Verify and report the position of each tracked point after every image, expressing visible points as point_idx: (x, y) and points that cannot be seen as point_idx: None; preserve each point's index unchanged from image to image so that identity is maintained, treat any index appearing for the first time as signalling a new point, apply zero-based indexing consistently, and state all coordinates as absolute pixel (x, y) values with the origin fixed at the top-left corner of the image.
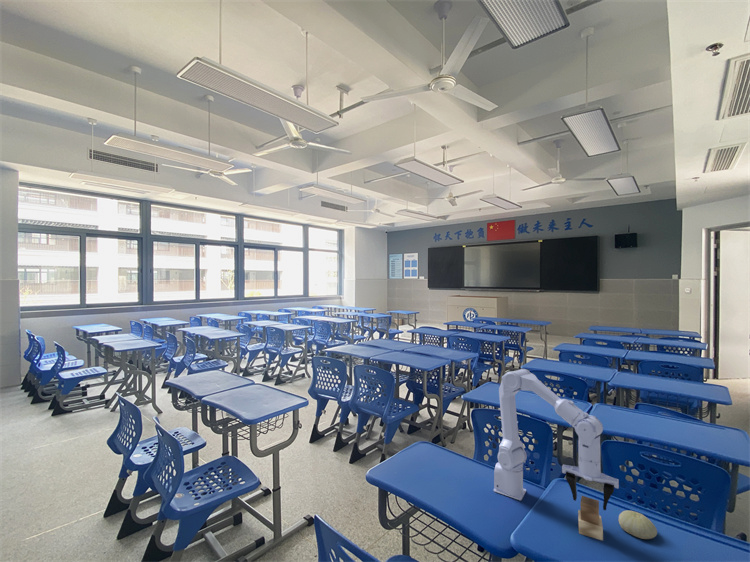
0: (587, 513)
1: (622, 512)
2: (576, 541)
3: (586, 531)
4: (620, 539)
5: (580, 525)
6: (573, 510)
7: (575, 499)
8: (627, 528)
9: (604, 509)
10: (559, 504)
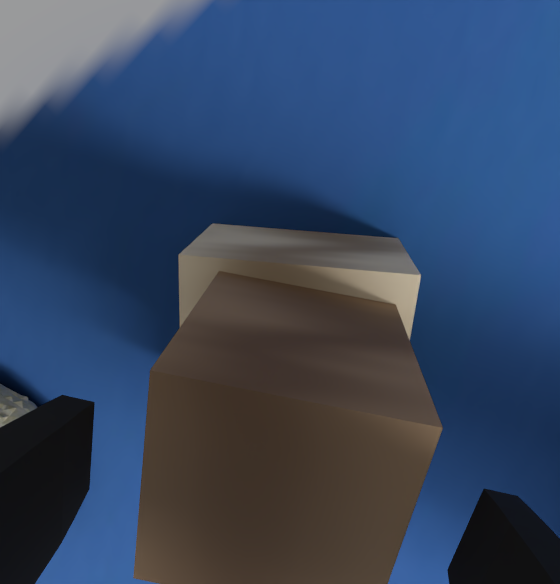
0: (325, 331)
1: None
2: (447, 92)
3: (338, 242)
4: (85, 303)
5: (396, 258)
6: None
7: (500, 503)
8: (8, 409)
9: (70, 400)
10: None
